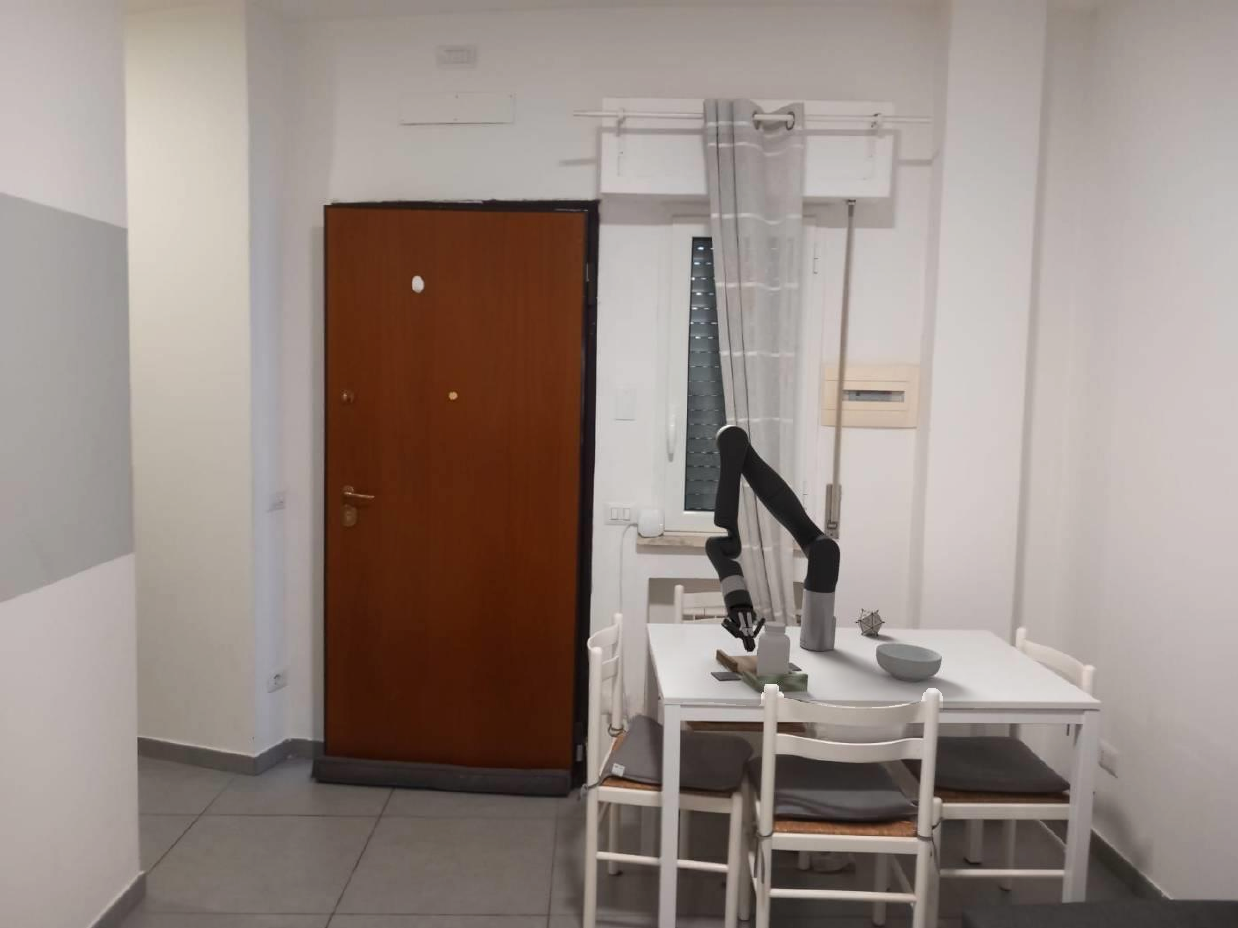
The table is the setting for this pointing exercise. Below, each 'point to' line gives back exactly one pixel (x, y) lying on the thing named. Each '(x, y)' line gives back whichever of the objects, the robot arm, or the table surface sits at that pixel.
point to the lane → (749, 675)
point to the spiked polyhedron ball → (870, 622)
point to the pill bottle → (773, 650)
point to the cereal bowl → (908, 661)
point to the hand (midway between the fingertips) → (751, 650)
